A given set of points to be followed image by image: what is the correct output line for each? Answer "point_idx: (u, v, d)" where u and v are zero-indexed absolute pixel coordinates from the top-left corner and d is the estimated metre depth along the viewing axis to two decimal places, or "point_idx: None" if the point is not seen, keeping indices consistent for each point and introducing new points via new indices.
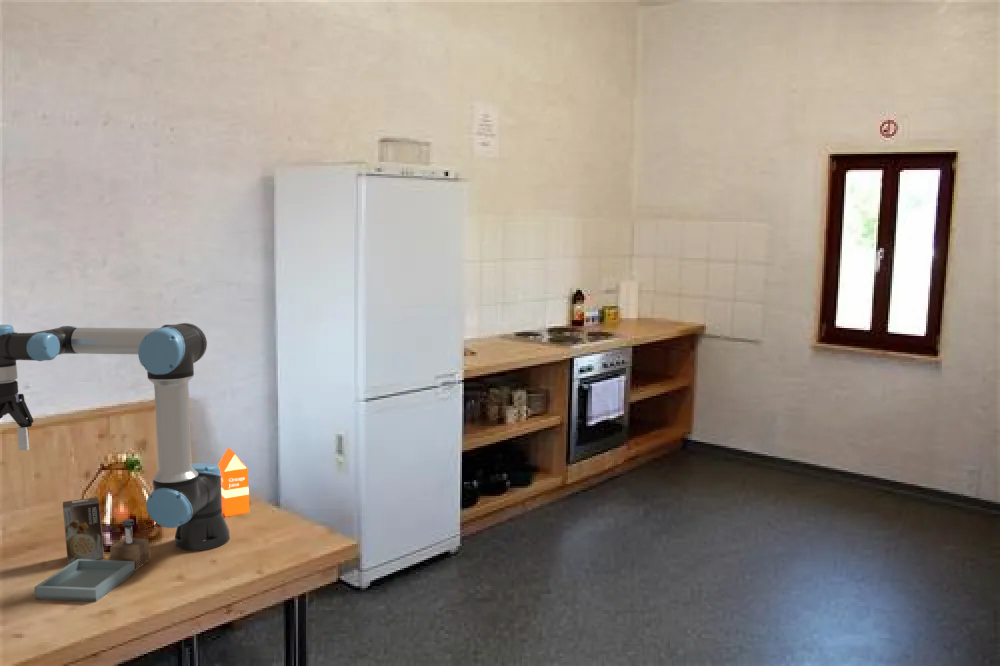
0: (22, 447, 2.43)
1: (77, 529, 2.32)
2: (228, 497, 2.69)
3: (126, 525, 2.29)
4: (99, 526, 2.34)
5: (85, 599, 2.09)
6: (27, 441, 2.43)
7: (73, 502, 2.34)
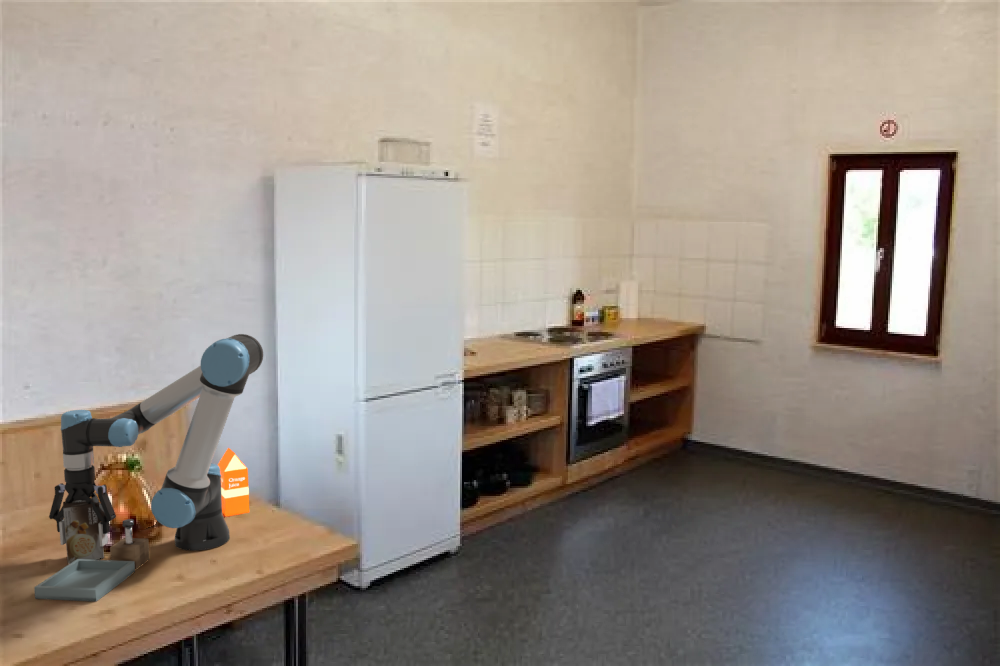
0: None
1: (77, 529, 2.32)
2: (228, 497, 2.69)
3: (126, 525, 2.29)
4: None
5: (85, 599, 2.09)
6: (100, 537, 2.34)
7: (73, 502, 2.34)
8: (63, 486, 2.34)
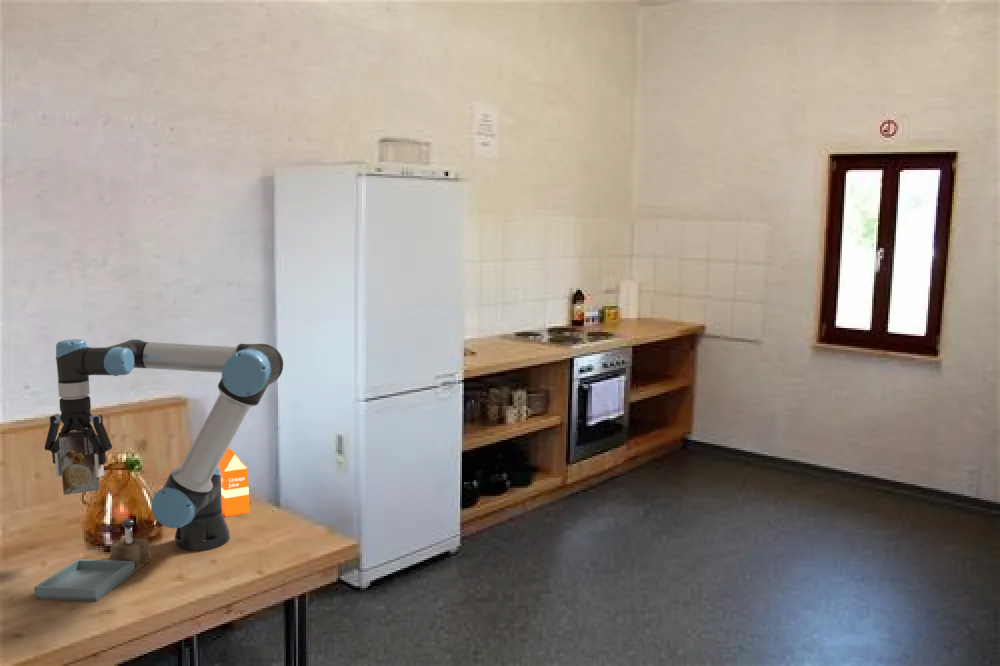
0: None
1: (73, 459, 2.29)
2: (228, 497, 2.69)
3: (126, 525, 2.29)
4: None
5: (85, 599, 2.09)
6: (96, 468, 2.31)
7: (69, 433, 2.32)
8: (58, 416, 2.31)
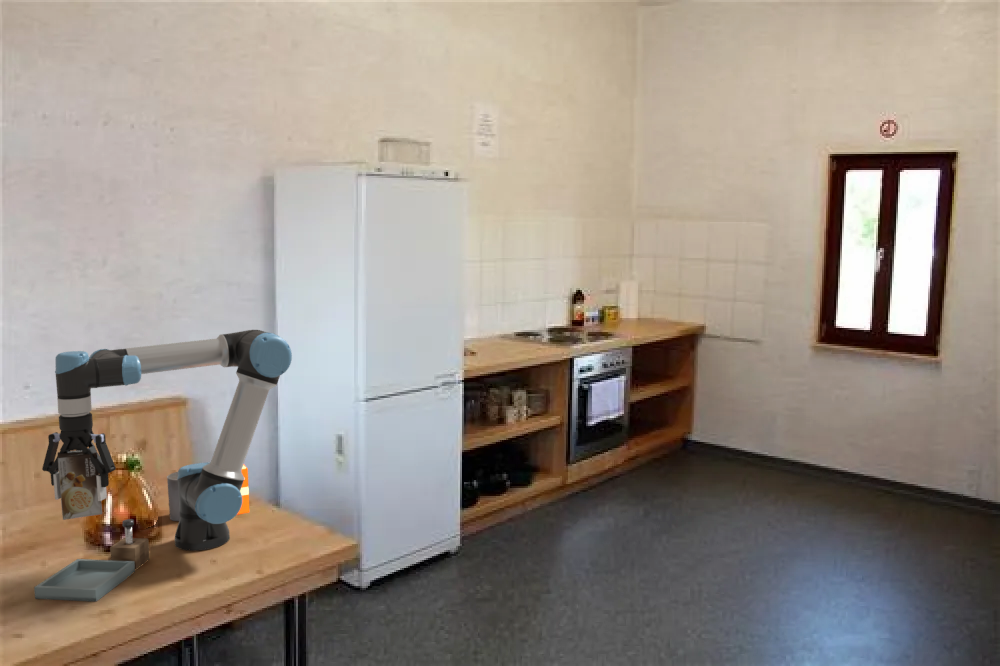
0: None
1: (73, 481, 2.12)
2: None
3: (126, 525, 2.29)
4: None
5: (85, 599, 2.09)
6: (98, 491, 2.13)
7: (69, 452, 2.14)
8: (58, 435, 2.14)
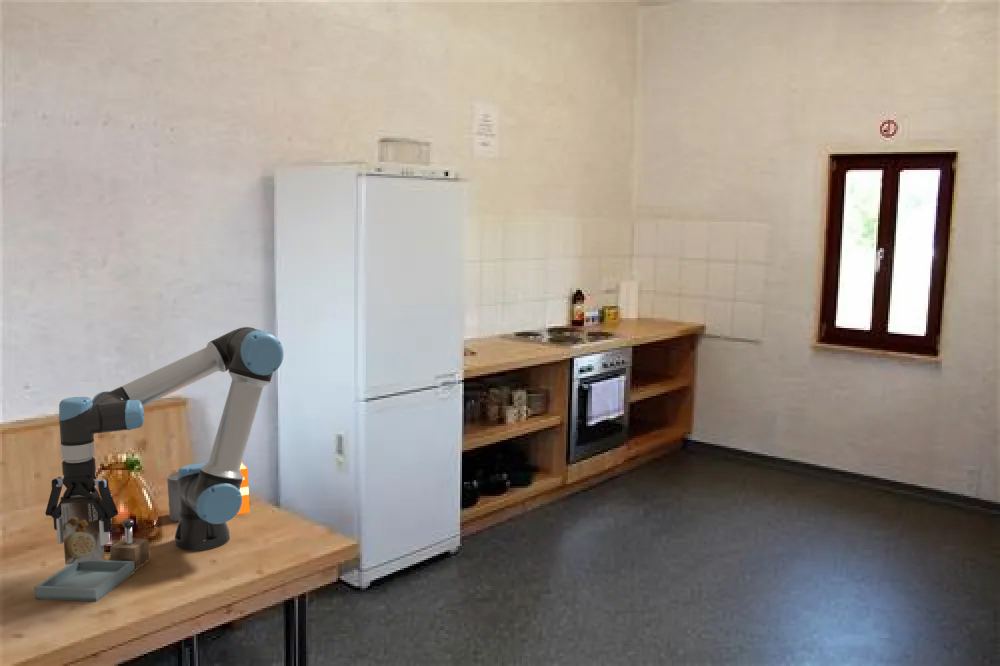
0: None
1: (76, 527, 2.13)
2: None
3: (126, 525, 2.29)
4: None
5: (85, 599, 2.09)
6: (101, 536, 2.15)
7: (72, 497, 2.15)
8: (61, 480, 2.15)
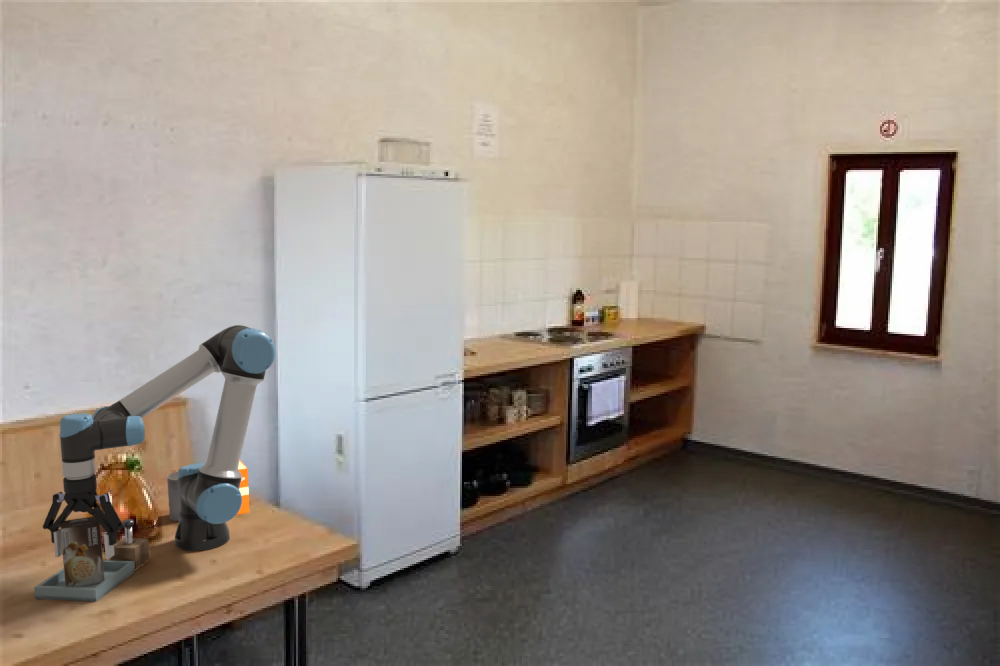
0: None
1: (76, 551, 2.14)
2: None
3: (126, 525, 2.29)
4: (99, 548, 2.16)
5: (85, 599, 2.09)
6: (106, 549, 2.15)
7: (71, 522, 2.16)
8: (62, 496, 2.16)
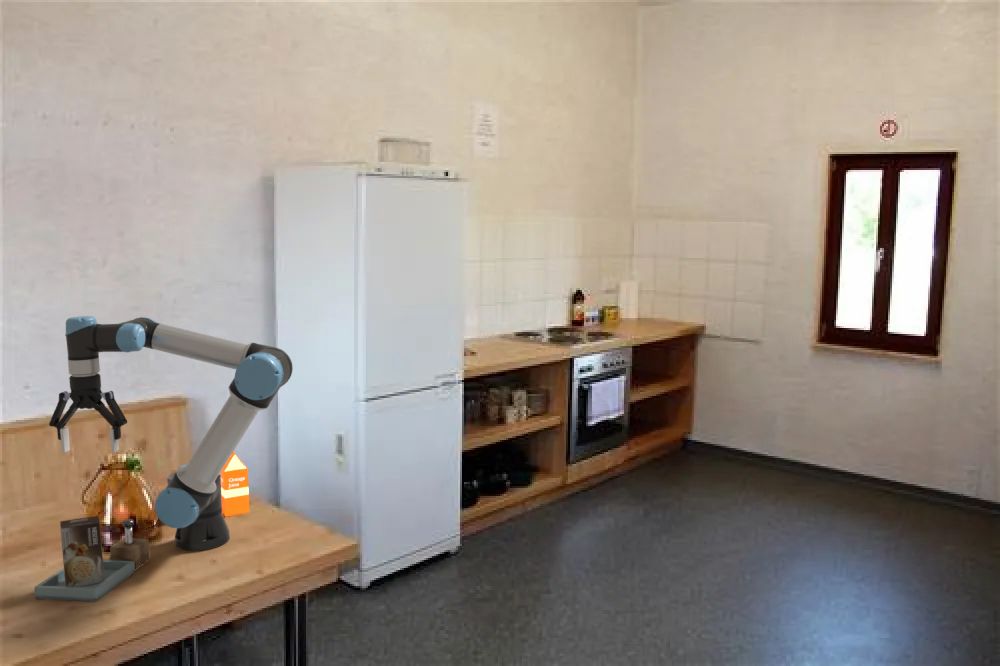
0: None
1: (76, 551, 2.14)
2: (228, 497, 2.69)
3: (126, 525, 2.29)
4: (99, 548, 2.16)
5: (85, 599, 2.09)
6: (112, 443, 2.29)
7: (71, 522, 2.16)
8: (68, 394, 2.29)
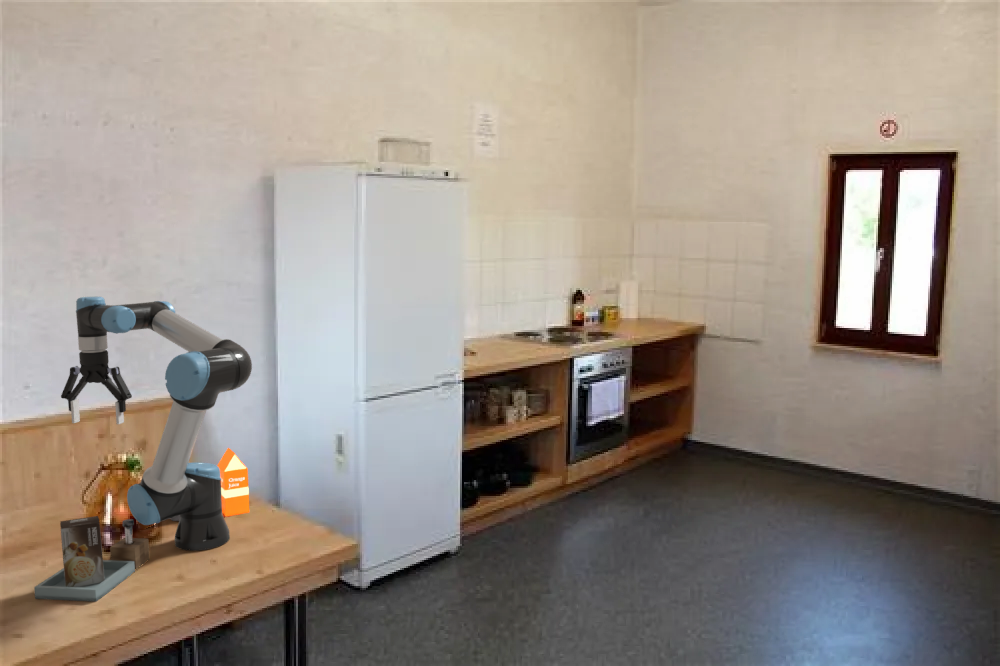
0: None
1: (76, 551, 2.14)
2: (228, 497, 2.69)
3: (126, 525, 2.29)
4: (99, 548, 2.16)
5: (85, 599, 2.09)
6: (117, 415, 2.45)
7: (71, 522, 2.16)
8: (78, 369, 2.45)
